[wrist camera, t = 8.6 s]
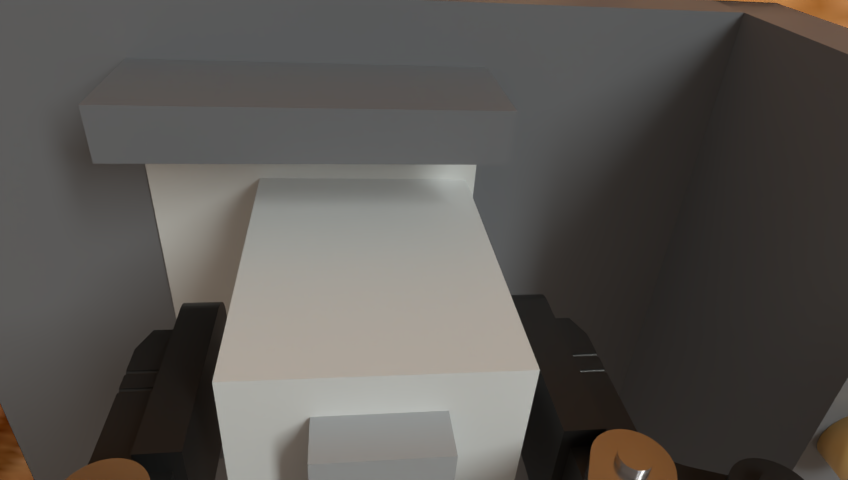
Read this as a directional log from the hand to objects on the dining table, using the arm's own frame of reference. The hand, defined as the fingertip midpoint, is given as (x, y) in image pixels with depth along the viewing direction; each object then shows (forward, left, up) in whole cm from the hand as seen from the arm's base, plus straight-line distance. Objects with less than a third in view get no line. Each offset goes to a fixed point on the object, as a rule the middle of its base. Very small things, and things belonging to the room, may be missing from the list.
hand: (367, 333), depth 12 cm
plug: (0, 0, -3) cm, 3 cm away
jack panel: (0, +7, -4) cm, 8 cm away
